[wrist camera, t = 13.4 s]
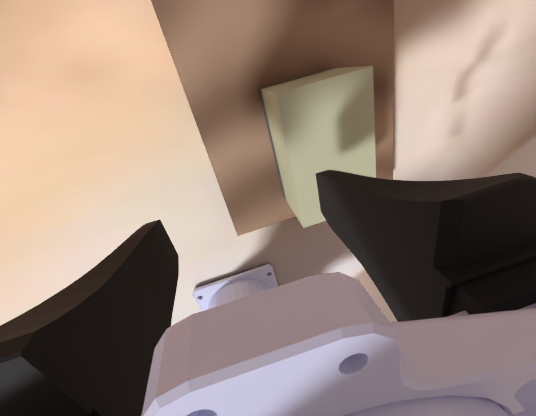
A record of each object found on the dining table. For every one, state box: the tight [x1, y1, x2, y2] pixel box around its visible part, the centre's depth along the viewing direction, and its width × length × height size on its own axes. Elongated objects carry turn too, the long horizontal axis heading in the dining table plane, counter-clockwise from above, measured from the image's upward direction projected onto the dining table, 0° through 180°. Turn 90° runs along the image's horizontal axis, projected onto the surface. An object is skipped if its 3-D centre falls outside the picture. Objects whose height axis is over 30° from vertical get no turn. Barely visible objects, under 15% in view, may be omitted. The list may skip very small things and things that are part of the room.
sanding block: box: [258, 66, 376, 228], centre depth 17 cm, size 8×5×5 cm, turn 14°
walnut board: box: [151, 0, 393, 236], centre depth 18 cm, size 18×14×2 cm
